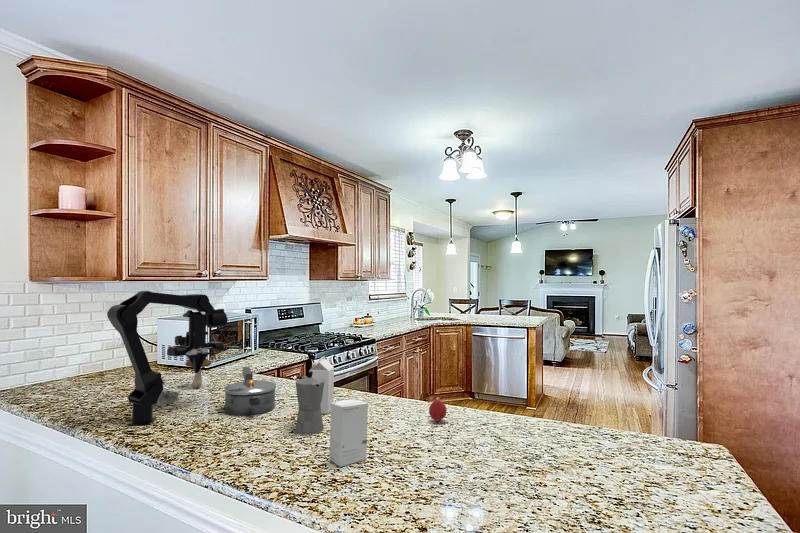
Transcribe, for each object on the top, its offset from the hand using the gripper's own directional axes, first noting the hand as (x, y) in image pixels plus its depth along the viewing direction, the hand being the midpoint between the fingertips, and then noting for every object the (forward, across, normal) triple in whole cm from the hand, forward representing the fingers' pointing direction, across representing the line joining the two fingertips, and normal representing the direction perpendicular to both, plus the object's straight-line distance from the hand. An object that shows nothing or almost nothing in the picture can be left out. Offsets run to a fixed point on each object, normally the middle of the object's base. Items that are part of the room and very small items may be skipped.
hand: (196, 372), depth 156 cm
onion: (+13, -39, +77) cm, 87 cm away
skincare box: (+13, +1, +74) cm, 75 cm away
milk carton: (+13, -25, +37) cm, 47 cm away
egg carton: (+14, +2, -19) cm, 23 cm away
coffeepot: (+13, -10, +47) cm, 50 cm away
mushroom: (+13, -17, -28) cm, 36 cm away
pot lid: (+6, -15, +10) cm, 19 cm away
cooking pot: (+13, -12, +15) cm, 23 cm away
